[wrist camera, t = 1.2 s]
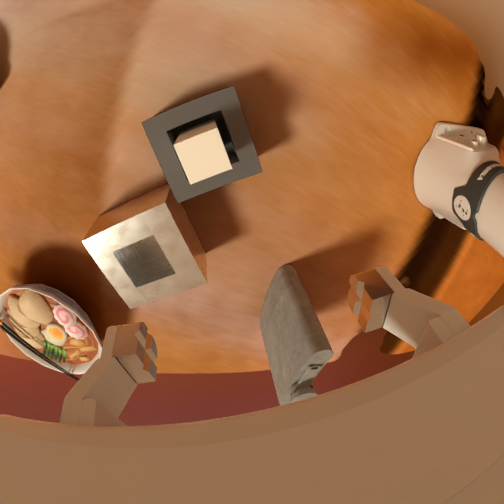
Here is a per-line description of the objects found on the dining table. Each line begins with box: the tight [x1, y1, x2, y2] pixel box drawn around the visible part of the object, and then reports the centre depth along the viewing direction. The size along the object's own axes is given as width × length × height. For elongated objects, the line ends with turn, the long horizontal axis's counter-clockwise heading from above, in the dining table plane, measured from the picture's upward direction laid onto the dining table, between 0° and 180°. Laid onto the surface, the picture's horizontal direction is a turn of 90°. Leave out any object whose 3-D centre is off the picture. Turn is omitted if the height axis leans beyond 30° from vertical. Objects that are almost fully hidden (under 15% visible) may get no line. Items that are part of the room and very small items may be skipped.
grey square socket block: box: [142, 86, 263, 203], centre depth 30 cm, size 10×10×6 cm
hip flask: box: [260, 264, 333, 406], centre depth 41 cm, size 16×4×20 cm, turn 169°
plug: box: [173, 119, 232, 185], centre depth 27 cm, size 4×4×10 cm
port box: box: [82, 183, 207, 309], centre depth 35 cm, size 12×12×7 cm
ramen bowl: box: [0, 284, 102, 381], centre depth 39 cm, size 25×23×8 cm
